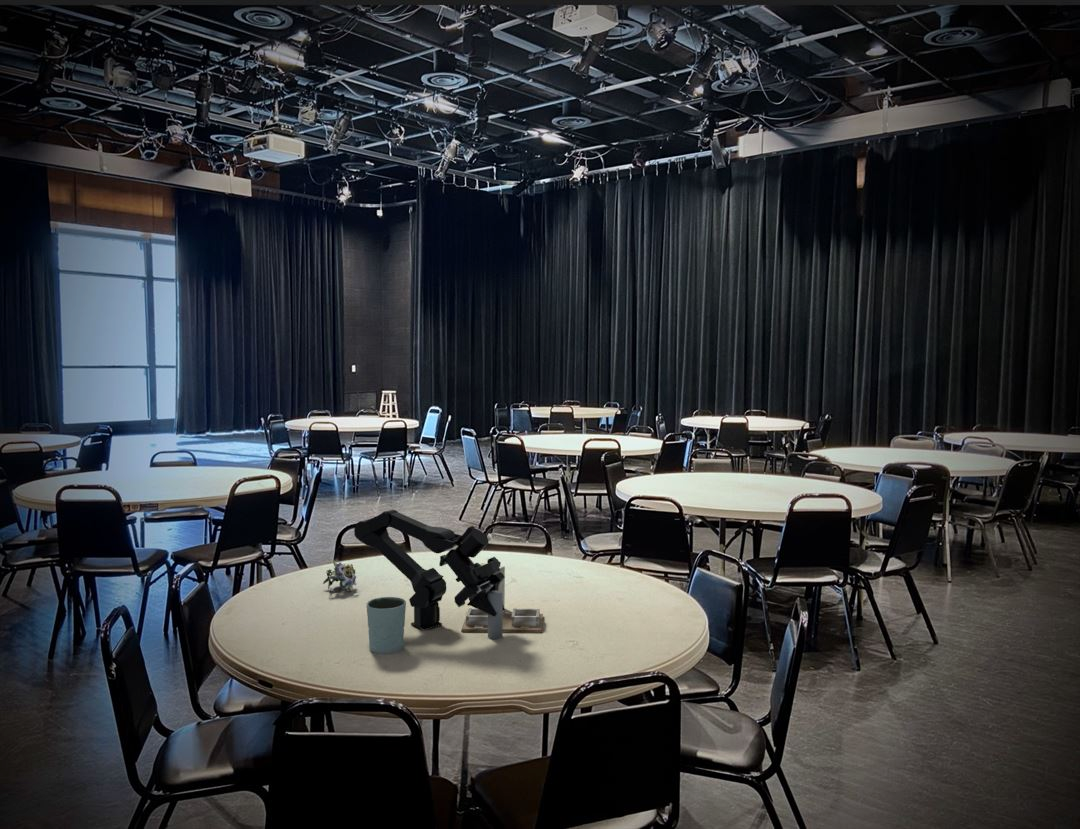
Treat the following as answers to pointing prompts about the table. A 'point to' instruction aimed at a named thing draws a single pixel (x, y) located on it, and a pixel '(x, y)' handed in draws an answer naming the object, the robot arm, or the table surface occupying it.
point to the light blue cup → (386, 624)
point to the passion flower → (342, 576)
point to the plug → (495, 621)
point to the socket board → (505, 621)
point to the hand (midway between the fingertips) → (499, 613)
